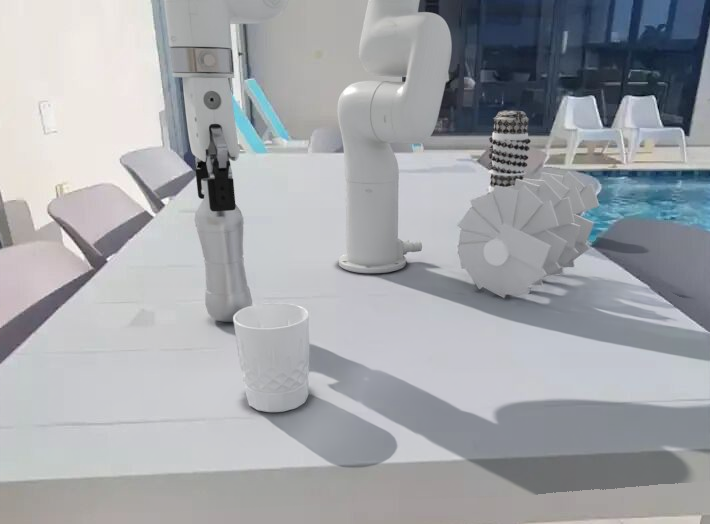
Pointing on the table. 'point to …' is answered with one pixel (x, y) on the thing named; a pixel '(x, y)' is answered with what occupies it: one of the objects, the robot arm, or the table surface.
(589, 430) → the table surface
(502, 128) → the decorative candle
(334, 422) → the table surface
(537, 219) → the spiral staircase
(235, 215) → the plastic bottle
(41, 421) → the table surface
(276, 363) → the white cup
